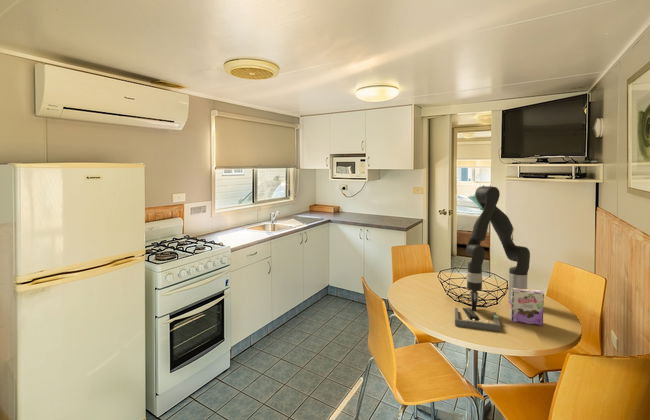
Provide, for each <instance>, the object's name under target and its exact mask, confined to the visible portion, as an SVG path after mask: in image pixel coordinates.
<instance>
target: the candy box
mask: <svg viewBox="0 0 650 420" xmlns="http://www.w3.org/2000/svg"><path fill="white" fill-rule="evenodd" d="M544 294H545V293H544V292H543V291H542V290H540V289H539V290H536V289H529V288H527V289H517V288H511V303H510V314H509V315H510V316H509V317H510V320H511V322H512V323H520V324H526V325H527V324H529V325H536V326H544V296H545V295H544Z"/></svg>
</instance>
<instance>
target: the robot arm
mask: <svg viewBox="0 0 650 420" xmlns="http://www.w3.org/2000/svg"><path fill="white" fill-rule="evenodd" d="M500 194H501V193H500V190H499V189H498V187H496V186H485V185H484V186H483V185H482V186H479V187H477V189H475V194H474V195H475V199H476V201H477V202H478V204H479V205H480V206H481V209H483V210H482V211H481V213H480V215H479V216H478V217H477V219H476V220H475V222H474V224H473V228H472V233H471V237H470V238H469V241H468V242H467V244H466V247H465V251H466V254H467V255H468V256H469V257H471V259H470V261H469V262H467V263H468V264H467V276H466V277H467V278H466V288H467V289H468V290H470V292H469V296H470V303H471V309H472V310H473V311H474V312H476V311H477V306H478V301H479V300H478V299H479V292H478V291H480V292H481V291H482V289H483V263H484V260H485V255H486V251H485V249H484V247H483V246H482V245H481V243H482V242H483V241H485V240H486V237H487V233H488V228H489V225H490V223H491V226H492V227H493V229H494V231H495V233H496V236H498V238H499V240H500V244H501V245H502V248H503V251H504V253H505V255H506V257H507V259H508V260H510V261H512V262H516V266H513V267H512V266H511V267H509V270H508V274H509V275H508V303H509V304H511V288H517V289H528V272H529V271H530V270H529V269H530V263H531V262H530V261H531V259H530V258H531V253H530V249H529V248H528V247H526V246H521V245H516V243H514V241H513V239H512V235H513V233H514V232H513V231H514V226H513V224H512V222H511V220H510V219H509V217H508V215H507V214H506V213H504V211H503V210H501V209H500V208H499V207H498V206H497V205H498V202H499V199H500Z"/></svg>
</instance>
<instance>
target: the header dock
mask: <svg viewBox="0 0 650 420" xmlns="http://www.w3.org/2000/svg"><path fill="white" fill-rule="evenodd" d="M491 316H492V319H493V320H492V321H493V323H492V322H490V320H485V322H483V320H482V319H479V320H478V321H477V320H475V319H473V320H470V319H469V318H468V317H466V318H465V319H459V307H454V327H460V328H467V329H473V330H474V329H475V330H481V331H490V332H499V333H500V332H501V327H502V326H501V324H500V321H499V315H498V314H497V312H495V311H493V312H492V315H491Z"/></svg>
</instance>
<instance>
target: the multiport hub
mask: <svg viewBox="0 0 650 420" xmlns="http://www.w3.org/2000/svg"><path fill="white" fill-rule="evenodd" d="M462 310H463V311H464V314H465V315H466V316H467V318H468V319H469V321H473V319H475V321H479V320H480V317H479V315H477V313H475V311H473V310H472V307H462Z"/></svg>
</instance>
